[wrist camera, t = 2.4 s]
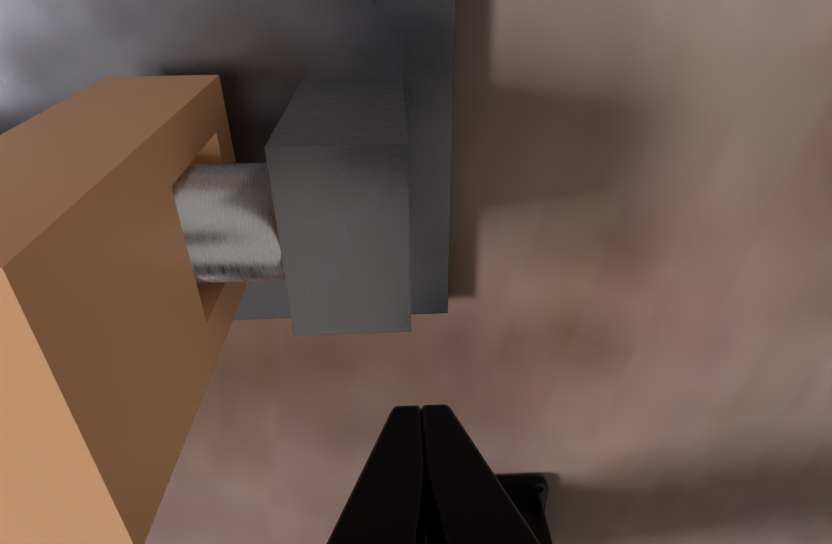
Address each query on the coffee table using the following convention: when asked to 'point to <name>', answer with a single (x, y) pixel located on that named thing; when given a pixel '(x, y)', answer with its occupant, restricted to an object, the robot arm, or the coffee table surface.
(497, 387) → the coffee table surface
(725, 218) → the coffee table surface
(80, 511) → the tan rectangular block
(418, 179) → the pipe stand
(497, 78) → the coffee table surface
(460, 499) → the robot arm
